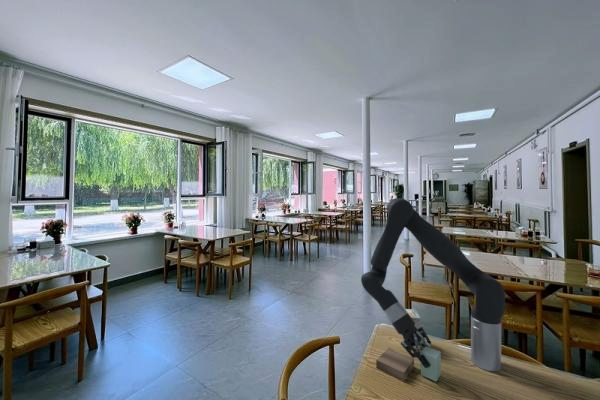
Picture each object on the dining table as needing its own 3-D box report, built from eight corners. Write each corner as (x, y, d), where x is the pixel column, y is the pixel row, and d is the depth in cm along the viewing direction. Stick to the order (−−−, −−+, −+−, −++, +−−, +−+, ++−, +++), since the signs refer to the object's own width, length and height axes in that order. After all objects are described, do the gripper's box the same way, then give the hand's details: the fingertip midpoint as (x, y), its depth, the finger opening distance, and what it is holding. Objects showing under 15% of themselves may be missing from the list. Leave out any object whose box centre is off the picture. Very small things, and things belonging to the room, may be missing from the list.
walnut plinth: (388, 355, 102) (388, 347, 102) (414, 366, 95) (414, 358, 95) (376, 367, 94) (376, 359, 94) (403, 381, 88) (403, 372, 87)
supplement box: (421, 349, 105) (421, 318, 105) (408, 348, 106) (408, 317, 106) (416, 338, 113) (416, 309, 113) (404, 337, 114) (404, 308, 114)
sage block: (425, 367, 93) (425, 346, 93) (440, 374, 90) (440, 351, 90) (420, 374, 90) (420, 352, 90) (436, 381, 86) (436, 358, 86)
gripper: (396, 319, 91) (431, 369, 83) (414, 307, 101) (447, 350, 92) (383, 328, 96) (415, 376, 87) (401, 315, 105) (432, 358, 96)
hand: (431, 362), depth 90 cm, fingers closed on sage block, 5 cm apart
